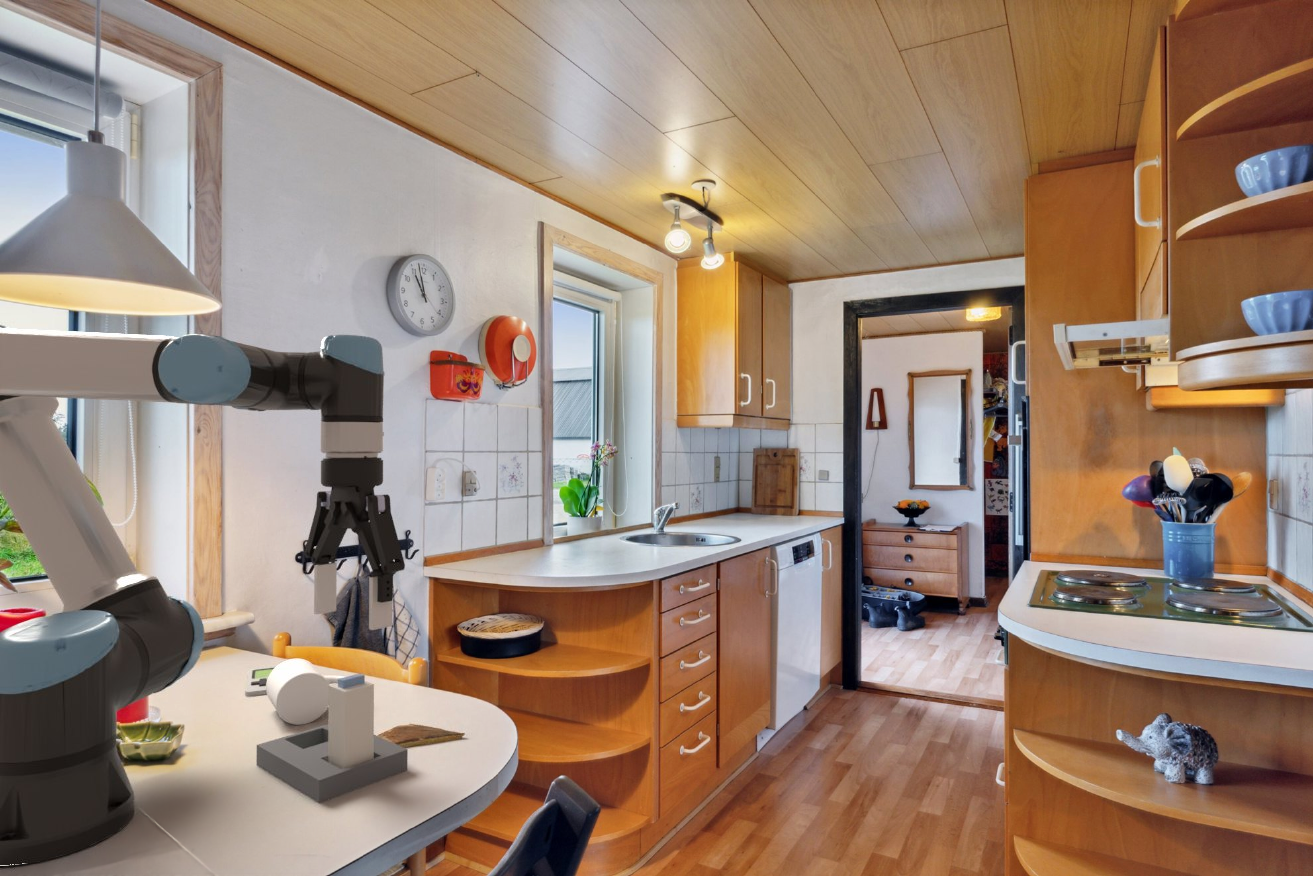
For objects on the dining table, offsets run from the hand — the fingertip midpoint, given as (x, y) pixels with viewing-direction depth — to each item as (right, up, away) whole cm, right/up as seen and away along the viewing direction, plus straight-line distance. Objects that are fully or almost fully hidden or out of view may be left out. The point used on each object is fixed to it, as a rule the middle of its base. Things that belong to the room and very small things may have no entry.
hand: (351, 620), depth 99 cm
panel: (-4, -21, +3) cm, 21 cm away
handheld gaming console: (-30, -22, +41) cm, 55 cm away
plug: (0, -20, 0) cm, 20 cm away
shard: (+4, -22, +14) cm, 26 cm away
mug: (-16, -21, +25) cm, 36 cm away
